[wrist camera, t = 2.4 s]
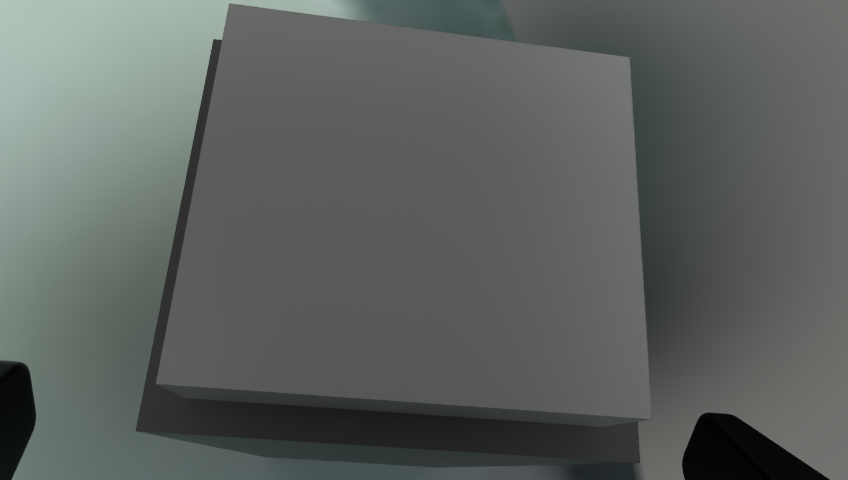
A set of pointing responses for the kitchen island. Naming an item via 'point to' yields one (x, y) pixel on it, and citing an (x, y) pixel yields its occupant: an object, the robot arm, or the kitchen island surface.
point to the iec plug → (405, 252)
